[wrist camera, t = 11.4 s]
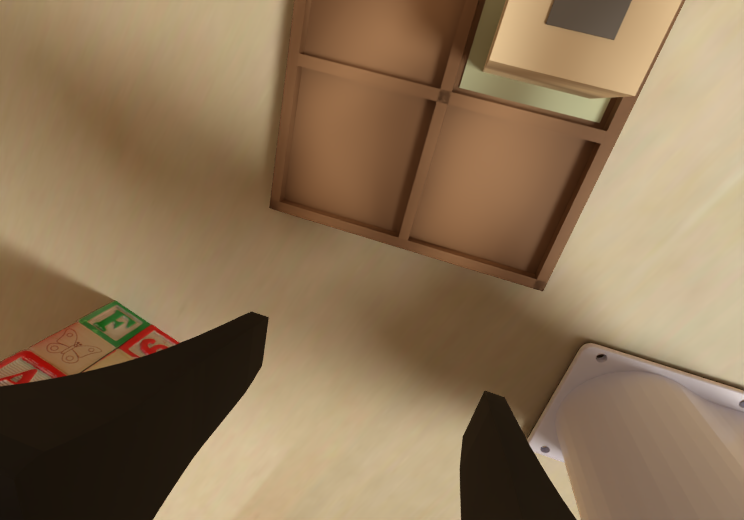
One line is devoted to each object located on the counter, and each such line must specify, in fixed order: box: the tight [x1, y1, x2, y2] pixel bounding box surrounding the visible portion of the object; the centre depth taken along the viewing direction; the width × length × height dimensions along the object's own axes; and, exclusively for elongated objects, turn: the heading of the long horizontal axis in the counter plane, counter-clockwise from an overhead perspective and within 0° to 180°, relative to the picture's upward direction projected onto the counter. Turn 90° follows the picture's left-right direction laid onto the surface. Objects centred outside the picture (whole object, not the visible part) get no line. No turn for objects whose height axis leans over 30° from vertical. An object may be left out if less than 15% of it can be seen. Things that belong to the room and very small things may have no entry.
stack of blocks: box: [0, 301, 179, 386], centre depth 26 cm, size 21×6×12 cm, turn 148°
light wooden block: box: [483, 0, 682, 99], centre depth 13 cm, size 4×4×5 cm
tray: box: [270, 0, 685, 291], centre depth 17 cm, size 14×14×1 cm
